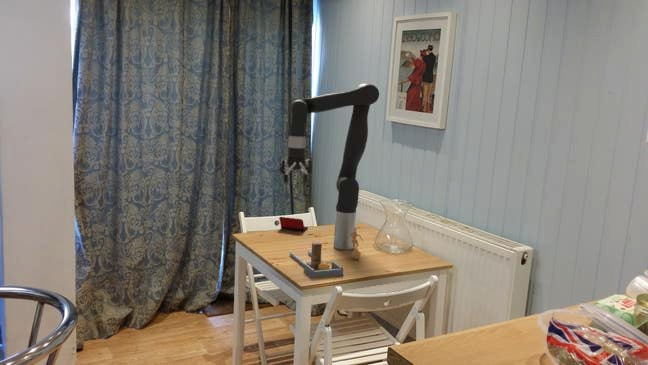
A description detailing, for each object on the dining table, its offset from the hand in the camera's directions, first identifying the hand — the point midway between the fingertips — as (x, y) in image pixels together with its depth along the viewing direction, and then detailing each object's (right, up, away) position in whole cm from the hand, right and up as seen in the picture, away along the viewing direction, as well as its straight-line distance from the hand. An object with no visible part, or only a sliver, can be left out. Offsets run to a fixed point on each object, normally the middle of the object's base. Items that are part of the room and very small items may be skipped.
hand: (295, 182), depth 251 cm
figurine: (+26, -33, -5) cm, 42 cm away
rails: (+6, -33, -13) cm, 36 cm away
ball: (+13, -34, -26) cm, 44 cm away
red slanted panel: (-3, -24, +38) cm, 45 cm away
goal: (+12, -36, -25) cm, 45 cm away
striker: (+10, -34, -20) cm, 41 cm away
